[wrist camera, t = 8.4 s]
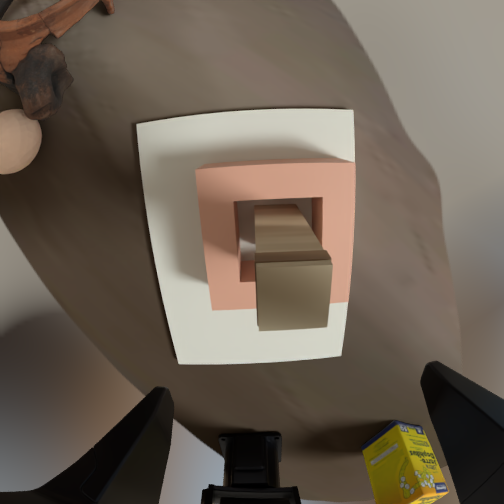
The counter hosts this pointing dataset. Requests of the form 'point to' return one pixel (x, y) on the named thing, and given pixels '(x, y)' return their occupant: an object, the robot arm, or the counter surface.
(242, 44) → the counter surface
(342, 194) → the pink square ring
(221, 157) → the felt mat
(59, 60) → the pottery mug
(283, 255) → the dowel
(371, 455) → the supplement box
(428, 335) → the counter surface
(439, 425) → the robot arm
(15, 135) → the egg
